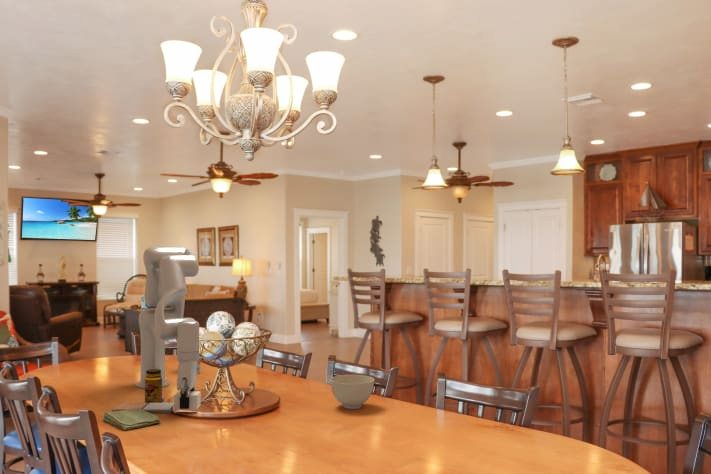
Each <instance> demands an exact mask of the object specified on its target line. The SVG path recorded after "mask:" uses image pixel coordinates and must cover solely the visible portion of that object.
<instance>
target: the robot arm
mask: <svg viewBox="0 0 711 474" xmlns="http://www.w3.org/2000/svg"><path fill="white" fill-rule="evenodd" d="M142 258H143V259H142V260H143V265H144V268H145V272H146V275H145V276H146V277H145V285H144V286H145V289H144V303H145V305H147V306H149V307H153V308H146V309H144V310H142V311H141V312H140V313H139V315H138V326H139V331H140V374H139V375H140V379H139V380H140V381H138V382H136V385H135V386H136V387H137V388H139V389H145V378H146V371H147V370H150V369H160V370H161V377H162V388H165V387H167V386H169V381H168V380H166V379H165V378H166V376H165V375H166V373H165V371H166V370H165V367H166V360H165V359H166V342H165V341H168V340H169V341H171V340H176V361H177V362H178V364H177V365H178V366H177V378H176V390H177V391H180V409H189V397H188V396H189V391H196V385H197V377H198V376H197V375H198V374H197V370H196V361H198V360H199V338H200V323H199V321H197V320H195V318H192V317H184V315H185V314H184V312H185V302H186V295H187V293H188V287H187V282H186V277H187V278H190V277H191V278H192V277H196V276H197V275H199V271H200V270H199V269H200V267H199V262H198V258H197V257H196V255H195V254H194V253H193V251H191V250H190V249H189V248H188V247H183V246H150V247H147V248H145V250H144V251H143V257H142ZM186 391H187V393H186Z"/></svg>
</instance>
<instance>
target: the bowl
mask: <svg viewBox="0 0 711 474" xmlns="http://www.w3.org/2000/svg"><path fill="white" fill-rule="evenodd" d="M374 384H375V378H374V377H372V376H368V375H364V374H362V375H361V374H342V375H341V374H339V375H336V376H332V377H331V378H330V386H331V390H332V393H333V396H334V398H335V399H336V400H337V401H338V403H340V404H342V406H343V408H345V409H346V410H347V409H348V410H357V409H360V408H362V405H364V404H365V403H366V402H368V400H369V399H370V398H371V395H372V392H373V389H374Z"/></svg>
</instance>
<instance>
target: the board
mask: <svg viewBox="0 0 711 474" xmlns="http://www.w3.org/2000/svg"><path fill="white" fill-rule="evenodd" d="M173 406H174V402H164V403H143V402H121V403H120V404H118V405H116V407H114V408H113V409H111V411H110V412H113V411H124V410H128V409H134V408H139V409H142V410H144V411H146V412H148V413H152V414H171V413H172V412H173V411H174V410H173ZM172 410H173V411H172Z"/></svg>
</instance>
